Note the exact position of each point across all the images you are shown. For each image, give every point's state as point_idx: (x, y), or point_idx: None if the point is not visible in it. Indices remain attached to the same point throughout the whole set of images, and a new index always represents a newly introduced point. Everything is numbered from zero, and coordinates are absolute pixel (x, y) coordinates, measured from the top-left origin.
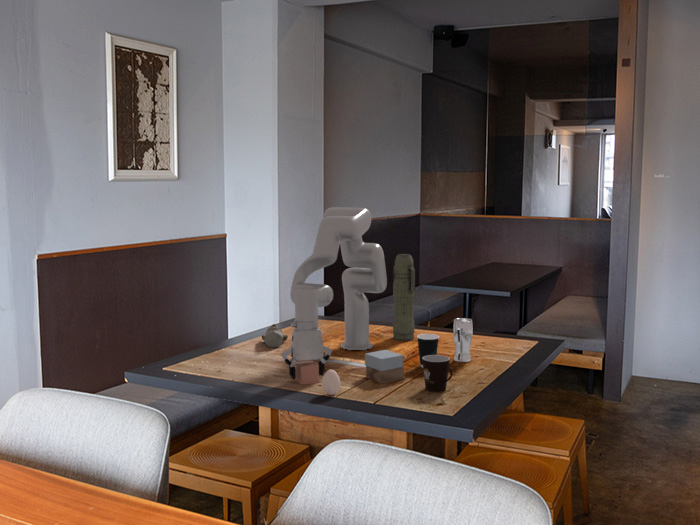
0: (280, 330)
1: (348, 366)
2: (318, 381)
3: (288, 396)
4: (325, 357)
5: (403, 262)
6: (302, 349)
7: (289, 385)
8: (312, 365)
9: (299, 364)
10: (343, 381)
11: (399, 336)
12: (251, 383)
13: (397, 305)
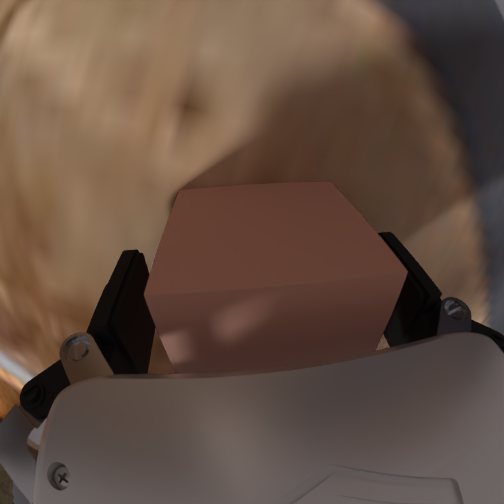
0: None
1: (41, 371)
2: (181, 192)
3: (469, 3)
4: (55, 395)
5: None
6: (492, 500)
7: (405, 192)
8: (244, 289)
9: (367, 346)
10: (17, 172)
11: None
12: (483, 280)
13: (2, 479)
